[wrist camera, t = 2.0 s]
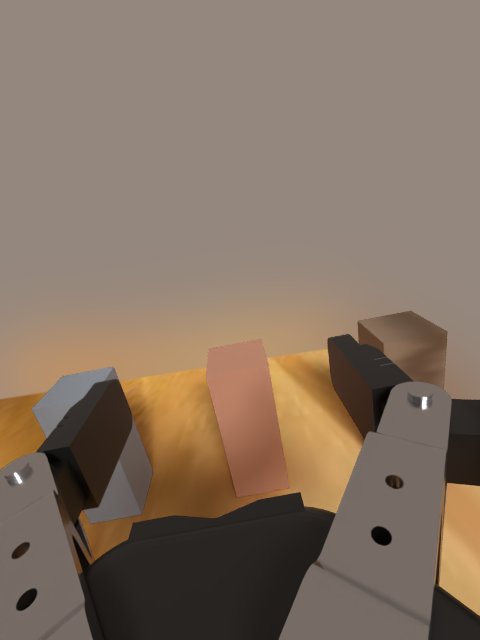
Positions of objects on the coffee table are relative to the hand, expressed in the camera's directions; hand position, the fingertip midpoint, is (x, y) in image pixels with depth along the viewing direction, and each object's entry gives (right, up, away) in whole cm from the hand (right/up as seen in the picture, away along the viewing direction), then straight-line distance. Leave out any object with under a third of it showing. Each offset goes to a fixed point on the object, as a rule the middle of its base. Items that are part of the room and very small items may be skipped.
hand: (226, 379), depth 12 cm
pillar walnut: (+15, -9, +16) cm, 24 cm away
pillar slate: (-10, -14, +17) cm, 24 cm away
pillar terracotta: (+2, -12, +17) cm, 20 cm away
